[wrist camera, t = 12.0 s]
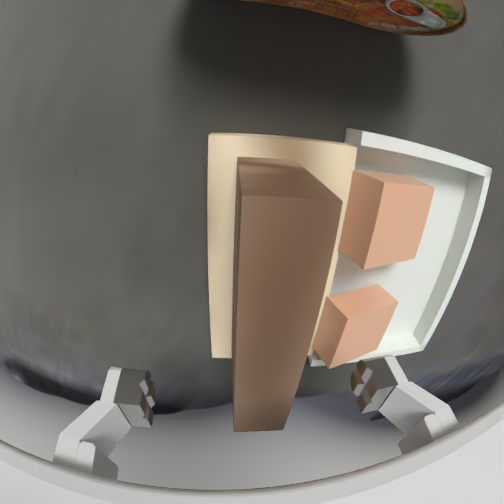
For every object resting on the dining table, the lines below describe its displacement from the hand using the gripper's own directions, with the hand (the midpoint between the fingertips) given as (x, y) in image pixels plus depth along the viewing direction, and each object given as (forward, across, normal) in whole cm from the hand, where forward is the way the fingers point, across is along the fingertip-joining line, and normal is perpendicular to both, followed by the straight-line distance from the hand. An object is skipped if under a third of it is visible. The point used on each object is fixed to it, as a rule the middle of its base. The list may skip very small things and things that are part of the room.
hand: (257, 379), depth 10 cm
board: (+10, -2, +1) cm, 10 cm away
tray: (+10, -12, +1) cm, 16 cm away
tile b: (+9, -8, +5) cm, 13 cm away
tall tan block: (+8, -1, +1) cm, 8 cm away
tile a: (+9, -8, -4) cm, 13 cm away
